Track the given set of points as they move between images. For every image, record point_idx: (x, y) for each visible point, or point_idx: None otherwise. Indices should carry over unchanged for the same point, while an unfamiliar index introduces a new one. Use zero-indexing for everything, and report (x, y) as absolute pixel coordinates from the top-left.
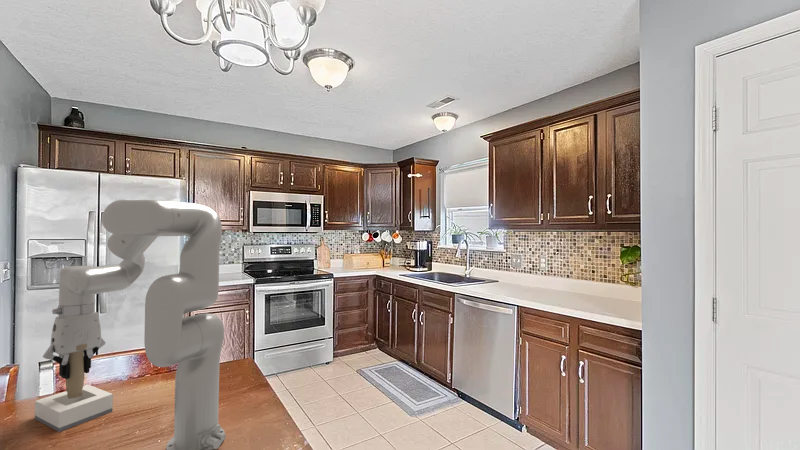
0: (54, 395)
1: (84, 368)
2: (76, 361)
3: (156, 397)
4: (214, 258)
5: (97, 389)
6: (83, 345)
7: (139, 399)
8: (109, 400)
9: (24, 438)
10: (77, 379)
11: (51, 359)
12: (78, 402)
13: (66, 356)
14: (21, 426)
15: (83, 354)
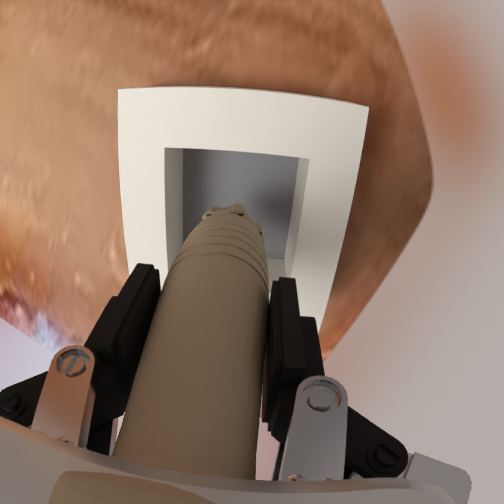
0: None
1: (151, 309)
2: (211, 369)
3: (22, 76)
4: None
5: (131, 223)
6: None
7: (53, 111)
8: (143, 87)
9: (407, 172)
10: (225, 247)
11: (419, 457)
12: (258, 141)
13: (310, 458)
14: (355, 271)
15: (116, 428)
